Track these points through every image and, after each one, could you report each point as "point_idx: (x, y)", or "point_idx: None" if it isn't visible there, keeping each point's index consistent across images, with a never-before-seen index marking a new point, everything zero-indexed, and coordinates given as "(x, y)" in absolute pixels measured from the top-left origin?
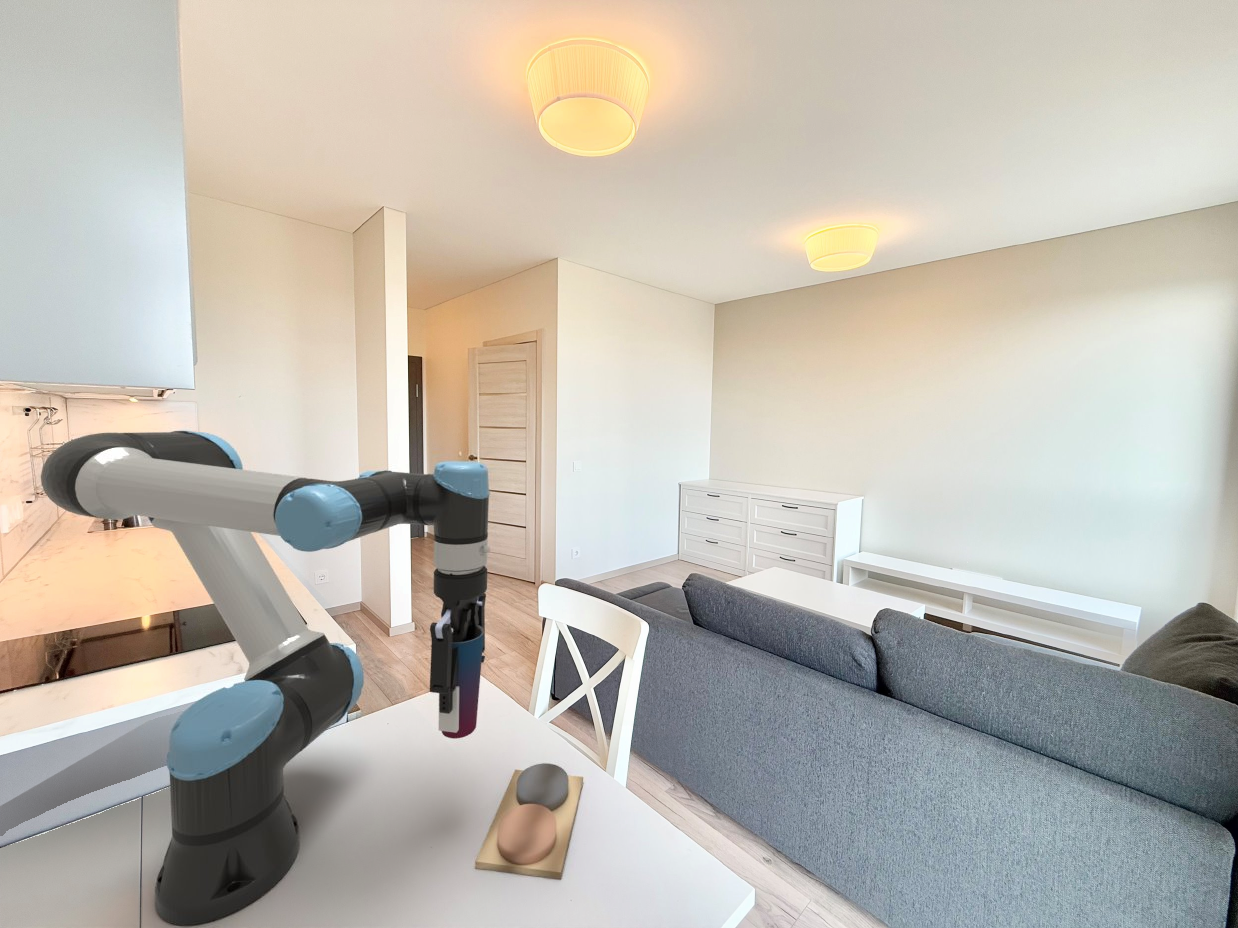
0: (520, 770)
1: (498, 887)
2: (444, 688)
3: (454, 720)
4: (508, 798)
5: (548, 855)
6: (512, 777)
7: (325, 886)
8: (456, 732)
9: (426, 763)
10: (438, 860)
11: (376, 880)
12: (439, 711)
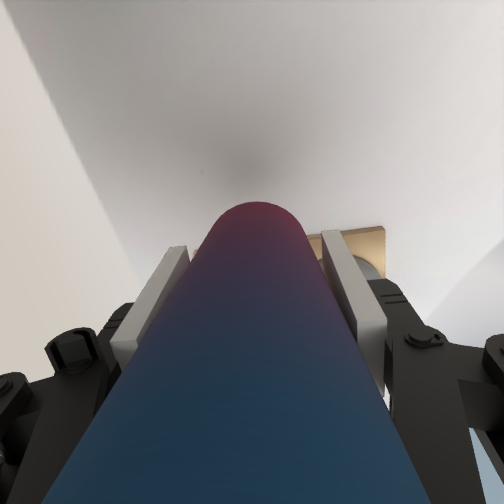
0: (384, 239)
1: None
2: (2, 461)
3: None
4: (314, 248)
5: None
6: (363, 233)
7: (79, 50)
8: None
9: (385, 20)
10: (186, 196)
11: (123, 127)
12: (150, 280)
